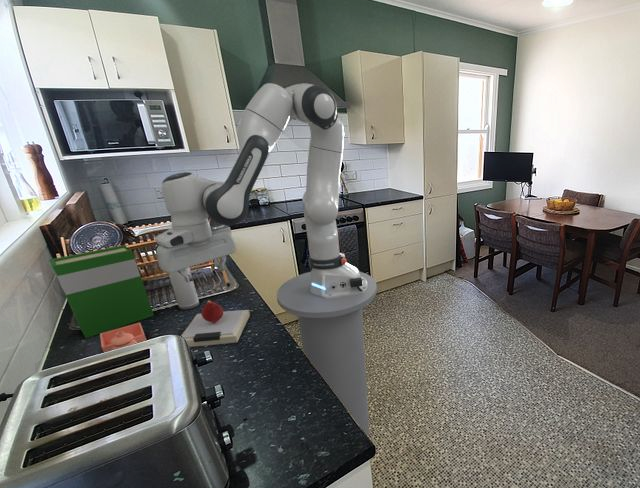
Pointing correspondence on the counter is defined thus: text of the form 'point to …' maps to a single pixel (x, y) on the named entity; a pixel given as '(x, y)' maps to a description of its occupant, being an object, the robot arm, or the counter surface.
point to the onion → (212, 312)
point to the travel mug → (184, 290)
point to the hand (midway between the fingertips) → (206, 275)
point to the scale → (216, 329)
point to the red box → (122, 337)
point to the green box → (103, 289)
